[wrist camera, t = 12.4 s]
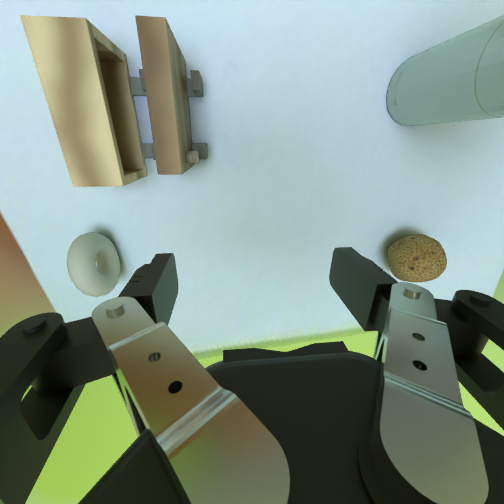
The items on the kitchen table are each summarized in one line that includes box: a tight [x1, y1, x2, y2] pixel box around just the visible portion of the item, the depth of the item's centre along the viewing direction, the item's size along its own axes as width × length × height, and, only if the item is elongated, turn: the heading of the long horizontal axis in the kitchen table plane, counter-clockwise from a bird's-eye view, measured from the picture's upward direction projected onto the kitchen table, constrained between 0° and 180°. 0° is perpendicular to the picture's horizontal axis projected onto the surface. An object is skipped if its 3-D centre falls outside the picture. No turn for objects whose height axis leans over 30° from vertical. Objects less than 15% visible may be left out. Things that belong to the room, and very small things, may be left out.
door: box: [135, 16, 199, 174], centre depth 29 cm, size 4×13×12 cm, turn 179°
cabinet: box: [20, 15, 208, 187], centre depth 30 cm, size 15×15×10 cm
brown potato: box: [388, 234, 447, 282], centre depth 43 cm, size 9×9×10 cm
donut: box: [67, 232, 120, 297], centre depth 37 cm, size 10×4×10 cm, turn 6°
